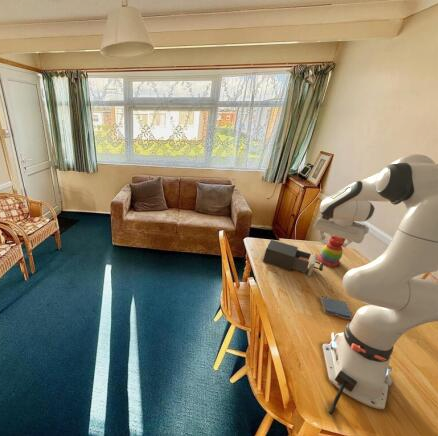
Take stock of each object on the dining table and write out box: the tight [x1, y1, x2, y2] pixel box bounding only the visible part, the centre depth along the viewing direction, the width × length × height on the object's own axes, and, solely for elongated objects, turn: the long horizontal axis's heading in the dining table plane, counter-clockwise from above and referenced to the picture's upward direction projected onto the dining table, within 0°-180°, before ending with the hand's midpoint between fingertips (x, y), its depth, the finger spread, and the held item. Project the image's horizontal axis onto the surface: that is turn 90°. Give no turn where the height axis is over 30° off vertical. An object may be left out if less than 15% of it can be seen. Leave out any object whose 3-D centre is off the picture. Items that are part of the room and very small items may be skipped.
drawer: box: [291, 249, 324, 276], centre depth 130 cm, size 18×11×8 cm, turn 52°
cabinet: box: [262, 239, 299, 272], centre depth 136 cm, size 15×13×10 cm
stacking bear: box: [316, 235, 346, 268], centre depth 133 cm, size 11×10×18 cm
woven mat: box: [319, 295, 353, 321], centre depth 105 cm, size 10×11×2 cm
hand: (332, 242), depth 118 cm, fingers open, 8 cm apart
